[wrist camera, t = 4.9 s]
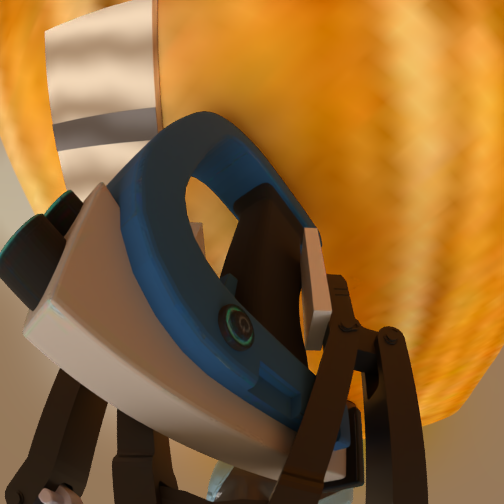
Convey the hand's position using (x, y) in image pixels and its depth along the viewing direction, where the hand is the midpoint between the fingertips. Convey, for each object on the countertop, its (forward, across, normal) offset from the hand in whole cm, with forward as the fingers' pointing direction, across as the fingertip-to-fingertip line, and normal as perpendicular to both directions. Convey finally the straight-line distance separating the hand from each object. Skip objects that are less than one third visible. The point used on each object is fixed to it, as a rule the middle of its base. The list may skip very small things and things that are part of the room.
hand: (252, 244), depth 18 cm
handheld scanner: (+7, 0, 0) cm, 7 cm away
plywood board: (+11, +15, 0) cm, 19 cm away
